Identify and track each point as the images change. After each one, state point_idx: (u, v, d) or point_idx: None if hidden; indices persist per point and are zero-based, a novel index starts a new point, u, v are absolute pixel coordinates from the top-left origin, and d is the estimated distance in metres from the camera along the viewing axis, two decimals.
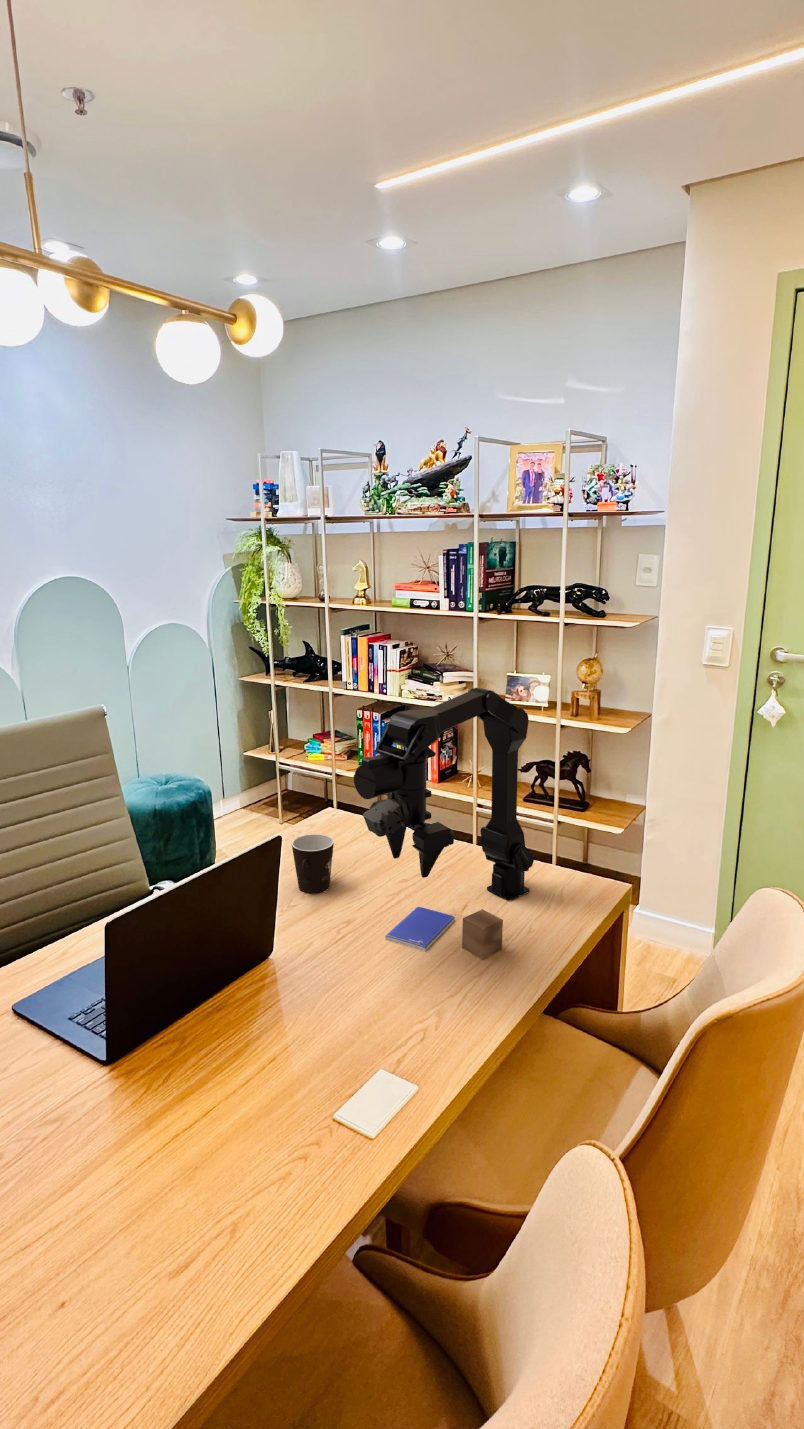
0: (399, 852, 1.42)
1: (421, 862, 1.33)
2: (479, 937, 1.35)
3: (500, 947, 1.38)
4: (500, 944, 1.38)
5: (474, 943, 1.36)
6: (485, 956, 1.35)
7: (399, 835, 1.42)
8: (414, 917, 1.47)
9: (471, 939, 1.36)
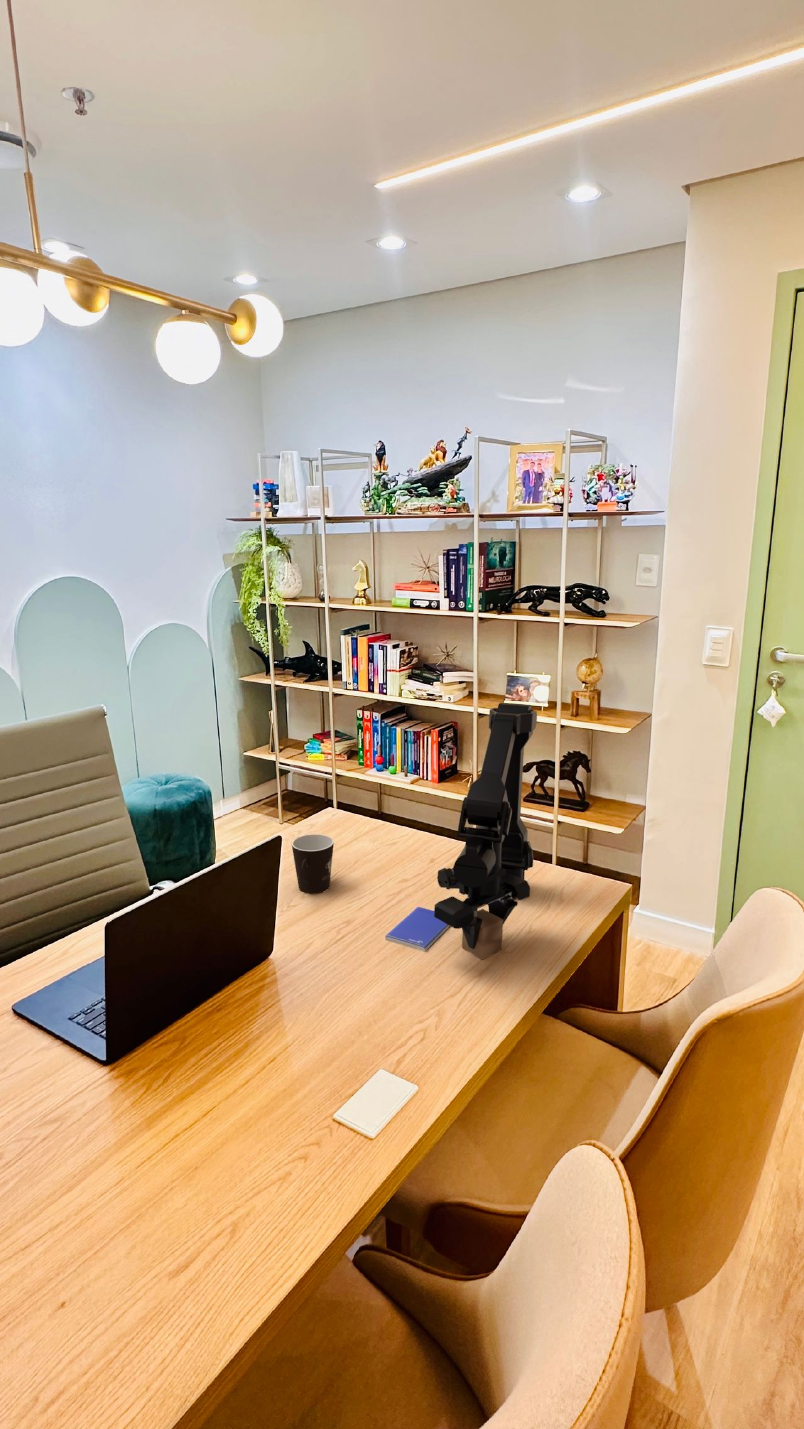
0: None
1: None
2: (480, 936, 1.35)
3: (500, 947, 1.38)
4: (500, 944, 1.38)
5: None
6: (485, 956, 1.35)
7: None
8: (414, 918, 1.47)
9: None
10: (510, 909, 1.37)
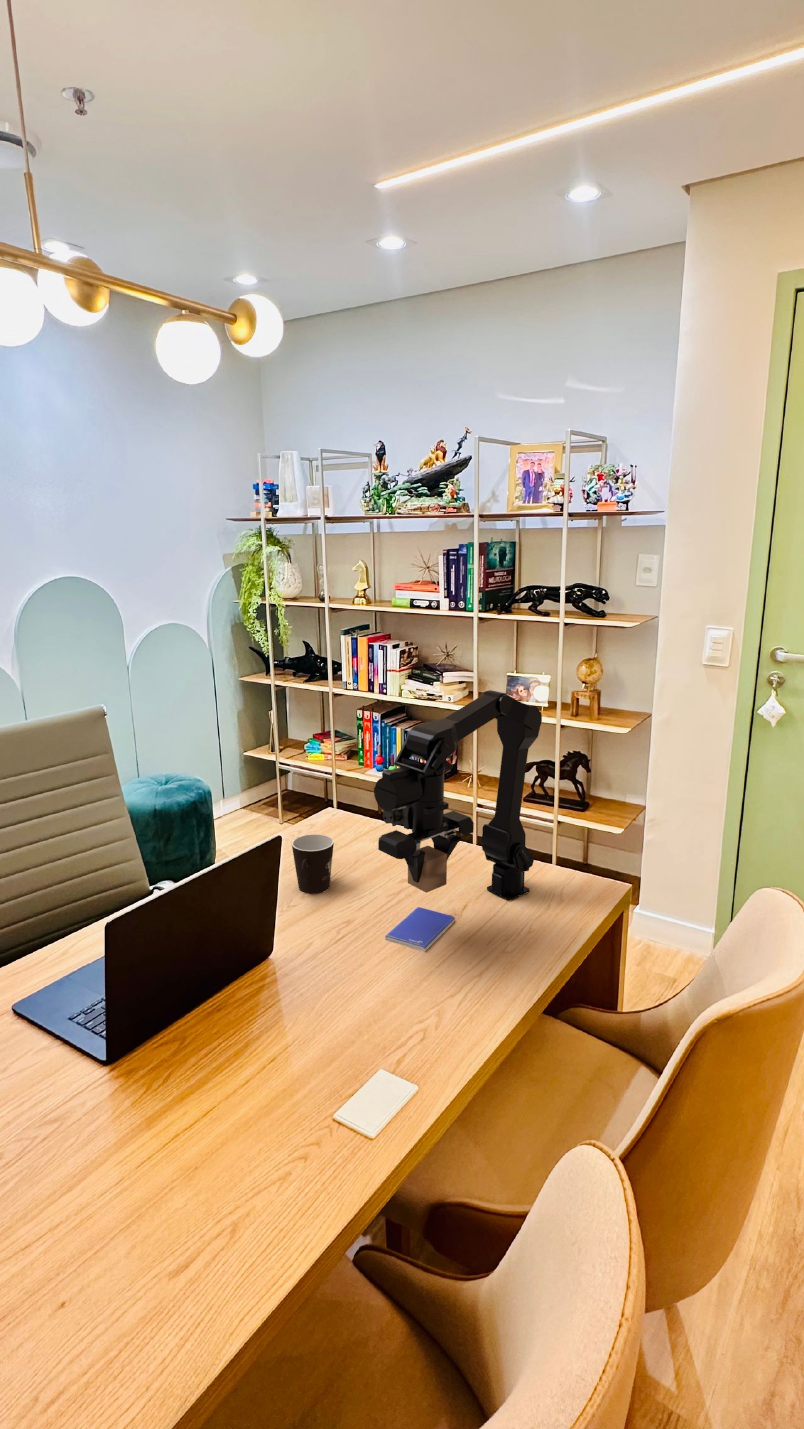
0: None
1: None
2: (424, 870, 1.38)
3: (444, 881, 1.41)
4: (444, 878, 1.41)
5: None
6: (429, 889, 1.39)
7: None
8: (414, 918, 1.47)
9: None
10: (454, 844, 1.40)
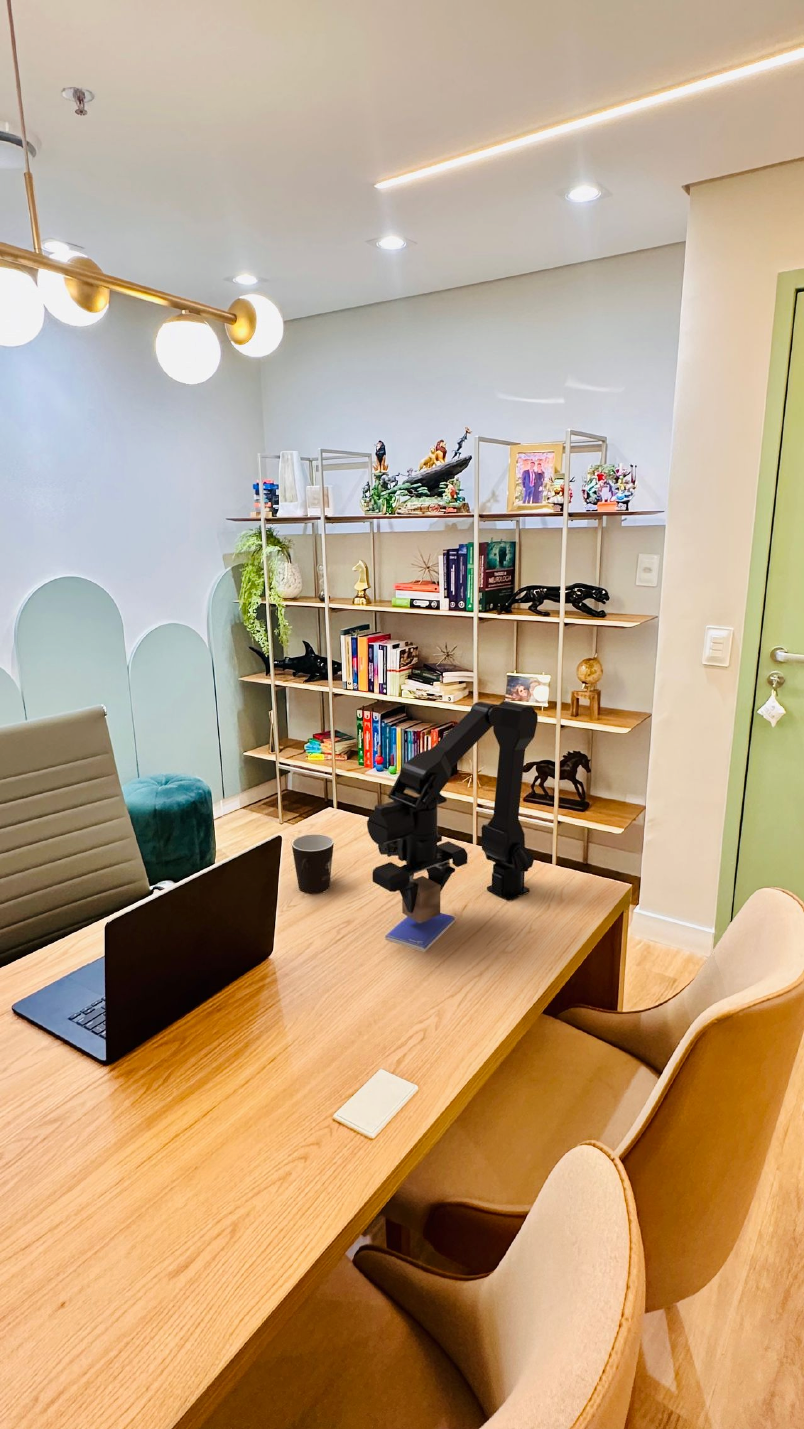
0: None
1: None
2: (417, 901, 1.40)
3: (438, 911, 1.43)
4: (438, 909, 1.43)
5: None
6: (423, 920, 1.41)
7: None
8: None
9: None
10: (447, 875, 1.43)
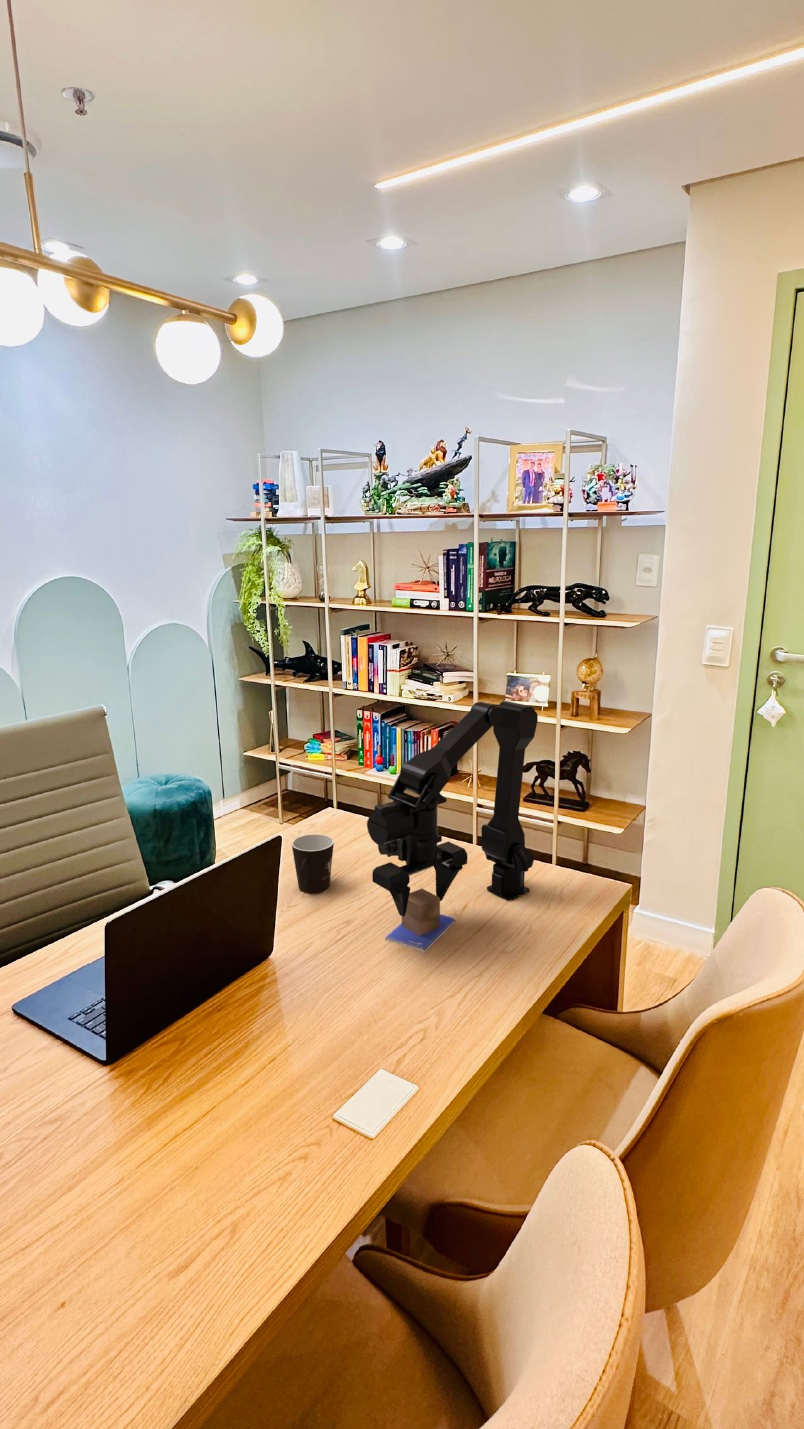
0: (440, 896, 1.46)
1: None
2: (417, 914, 1.41)
3: (437, 924, 1.44)
4: (438, 921, 1.44)
5: (412, 920, 1.42)
6: (422, 933, 1.42)
7: (443, 881, 1.45)
8: None
9: (410, 917, 1.43)
10: (455, 872, 1.44)
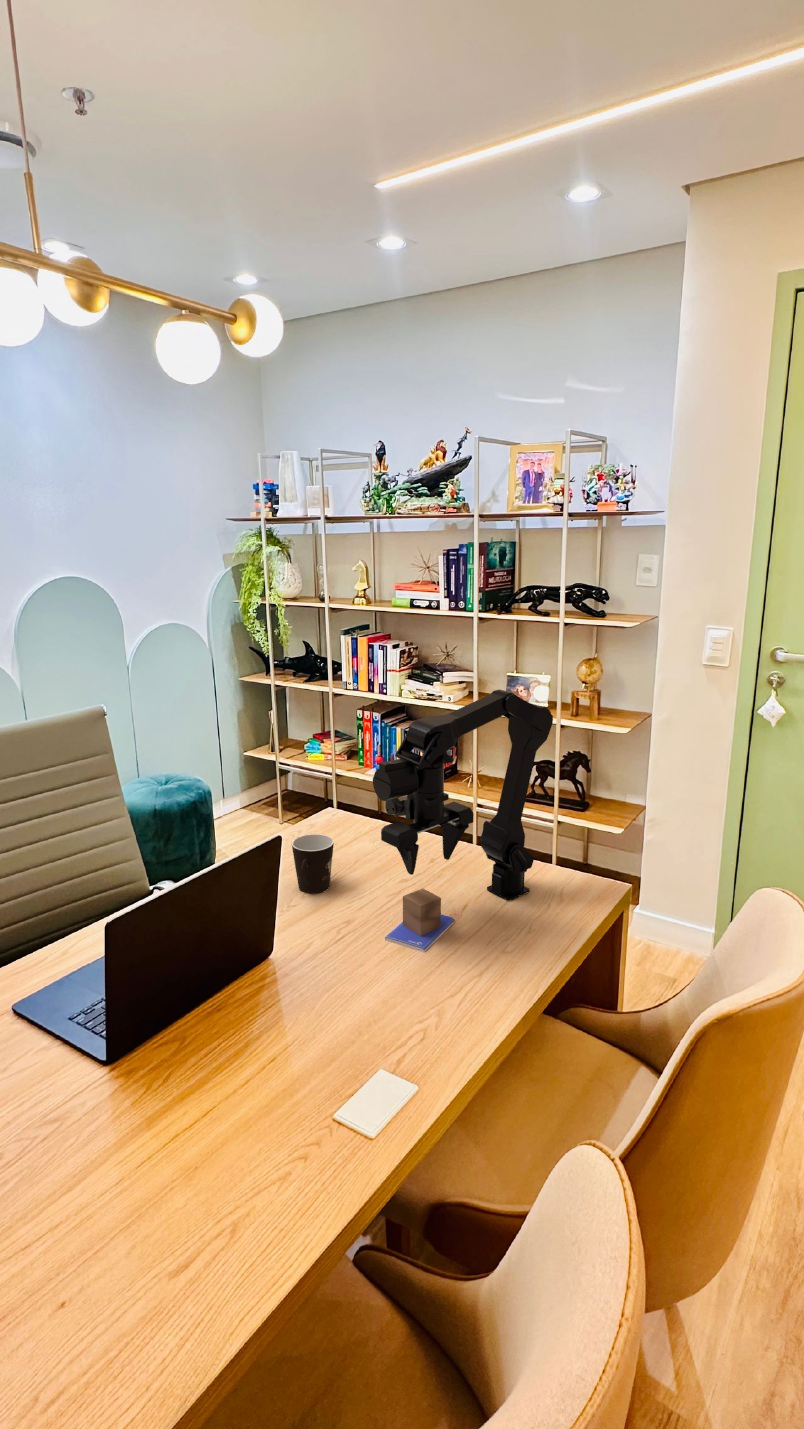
0: (447, 855, 1.48)
1: None
2: (418, 914, 1.41)
3: (438, 924, 1.44)
4: (439, 921, 1.44)
5: (413, 920, 1.42)
6: (423, 933, 1.41)
7: (450, 839, 1.47)
8: None
9: (411, 916, 1.42)
10: (462, 831, 1.46)
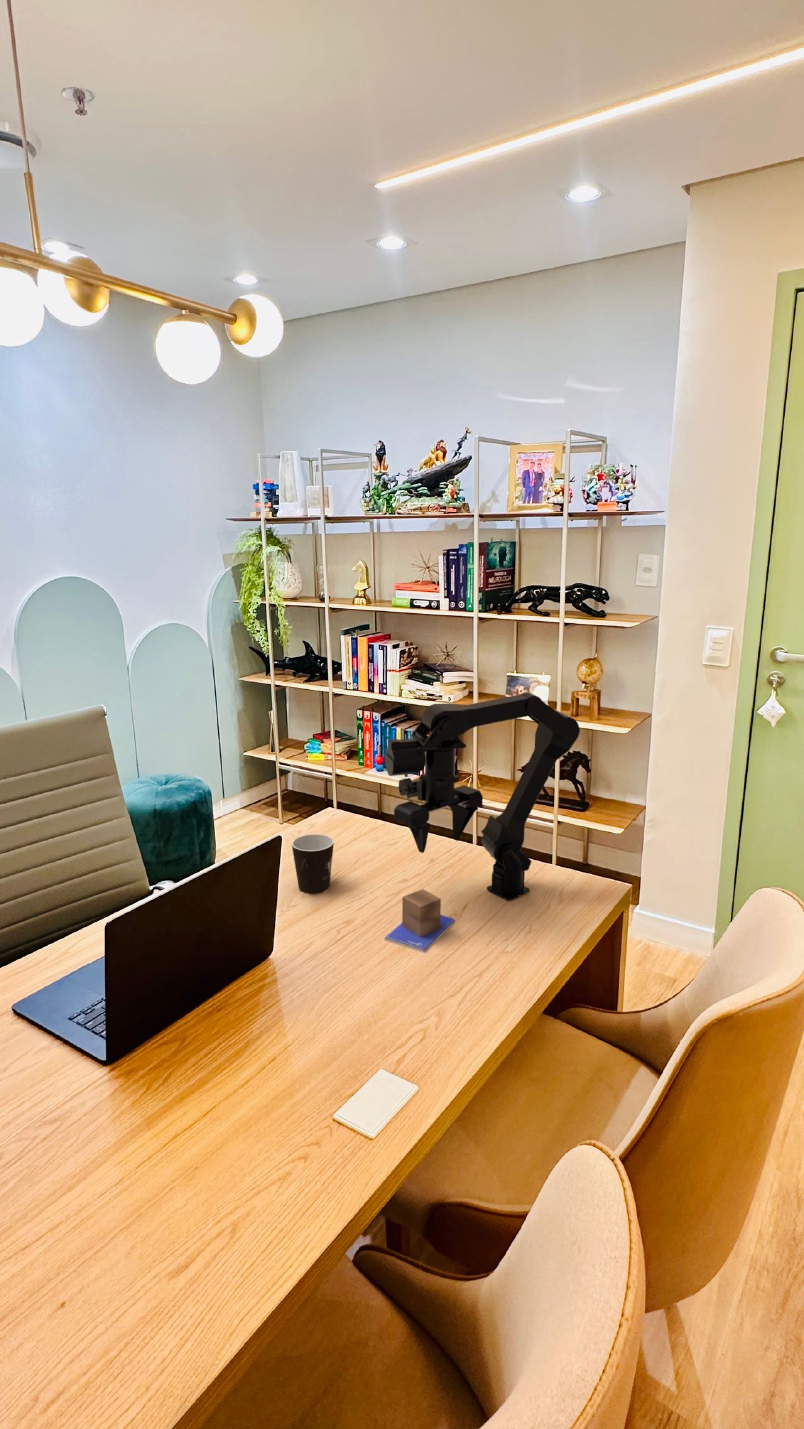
0: (457, 836, 1.55)
1: None
2: (417, 915, 1.40)
3: (438, 925, 1.44)
4: (438, 922, 1.43)
5: (413, 921, 1.42)
6: (423, 933, 1.41)
7: (459, 821, 1.54)
8: None
9: (410, 917, 1.42)
10: (471, 812, 1.53)
